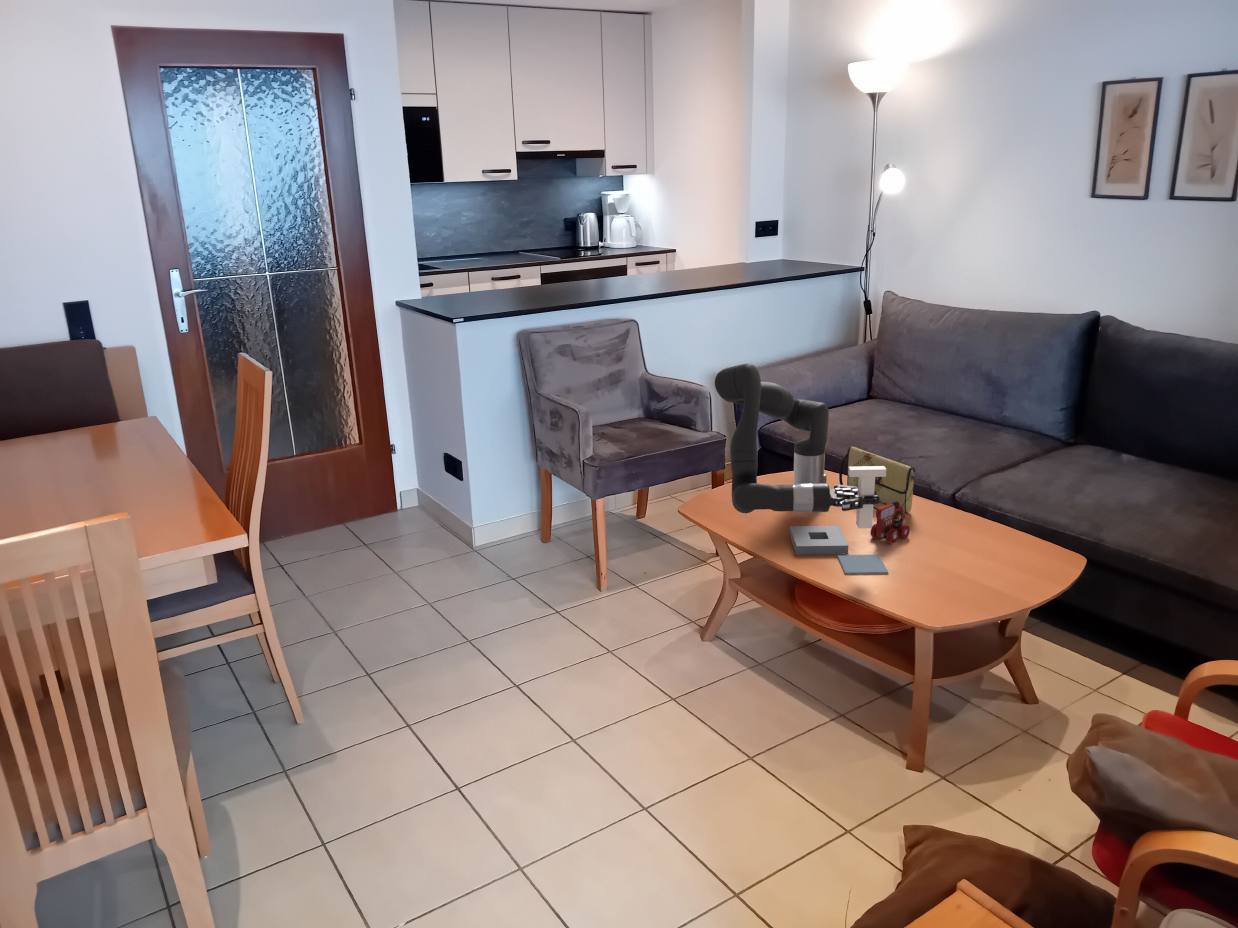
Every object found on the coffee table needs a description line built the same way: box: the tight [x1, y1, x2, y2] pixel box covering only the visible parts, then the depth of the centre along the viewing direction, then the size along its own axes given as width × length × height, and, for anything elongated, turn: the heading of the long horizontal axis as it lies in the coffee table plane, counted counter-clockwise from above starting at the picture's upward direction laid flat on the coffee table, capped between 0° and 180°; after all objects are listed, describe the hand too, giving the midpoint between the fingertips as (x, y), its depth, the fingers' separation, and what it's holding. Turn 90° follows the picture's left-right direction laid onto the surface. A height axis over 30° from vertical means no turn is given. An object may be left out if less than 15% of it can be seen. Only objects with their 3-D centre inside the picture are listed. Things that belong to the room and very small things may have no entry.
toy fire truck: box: [870, 501, 911, 545], centre depth 248 cm, size 7×12×10 cm, turn 128°
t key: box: [847, 466, 886, 529], centre depth 227 cm, size 9×3×16 cm, turn 87°
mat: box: [837, 553, 889, 575], centre depth 233 cm, size 11×11×1 cm
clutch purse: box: [838, 445, 916, 514], centre depth 273 cm, size 30×7×15 cm, turn 28°
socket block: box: [789, 525, 849, 556], centre depth 247 cm, size 14×14×2 cm
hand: (876, 496), depth 227 cm, fingers closed on t key, 3 cm apart
